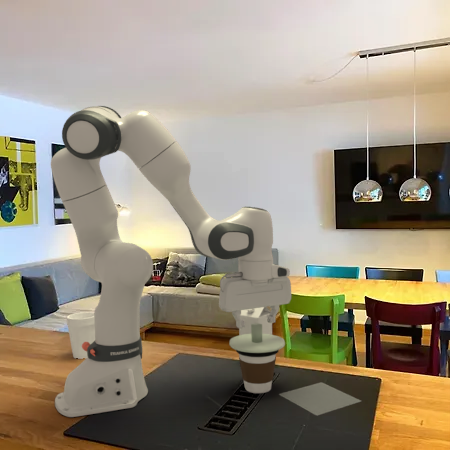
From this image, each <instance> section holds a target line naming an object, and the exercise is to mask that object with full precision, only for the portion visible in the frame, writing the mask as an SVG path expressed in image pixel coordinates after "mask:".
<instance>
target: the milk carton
mask: <svg viewBox="0 0 450 450" xmlns="http://www.w3.org/2000/svg"><path fill="white" fill-rule="evenodd" d="M270 312H271V310H270V309H269V308H268V307H261V308H254V309H247V310H241V315H239V316H240V318H241V320H244V321H245V324H244V325H245V327H243V328H238V329H239V330H238V331H239V332H238V333H239V335H244V334H251V324H255V323H259V324H262V334H270V335H273V323H268V322H267V315H269V314H270ZM239 335H238V336H239Z"/></svg>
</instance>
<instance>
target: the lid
mask: <svg viewBox="0 0 450 450" xmlns="http://www.w3.org/2000/svg"><path fill="white" fill-rule="evenodd" d="M285 341H286V340H285V339H284V338H282V337H281V336H278V335H274V334H272V335H270V334H262V324H259V323H255V324H251V334H244V335H236V336H233V337H231V338H230V339H229V346H230V348H231V349H233V350H235V351H236V350H238V351H242V352H249V353H266V352H273V351H277V350H279V351H280V350H281V349H283V348H284V347H285V345H286V342H285Z"/></svg>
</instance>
